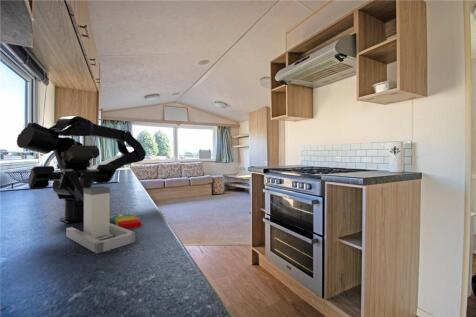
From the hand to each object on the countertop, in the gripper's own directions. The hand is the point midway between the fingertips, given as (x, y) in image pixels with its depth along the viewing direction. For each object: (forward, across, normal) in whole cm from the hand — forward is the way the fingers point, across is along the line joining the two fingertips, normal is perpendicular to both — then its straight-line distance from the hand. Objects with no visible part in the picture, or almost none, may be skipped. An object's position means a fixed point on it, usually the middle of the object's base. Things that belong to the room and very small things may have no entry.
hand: (85, 200), depth 59 cm
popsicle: (+6, +11, +7) cm, 14 cm away
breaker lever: (+10, 0, +1) cm, 10 cm away
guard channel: (+11, 0, 0) cm, 11 cm away
